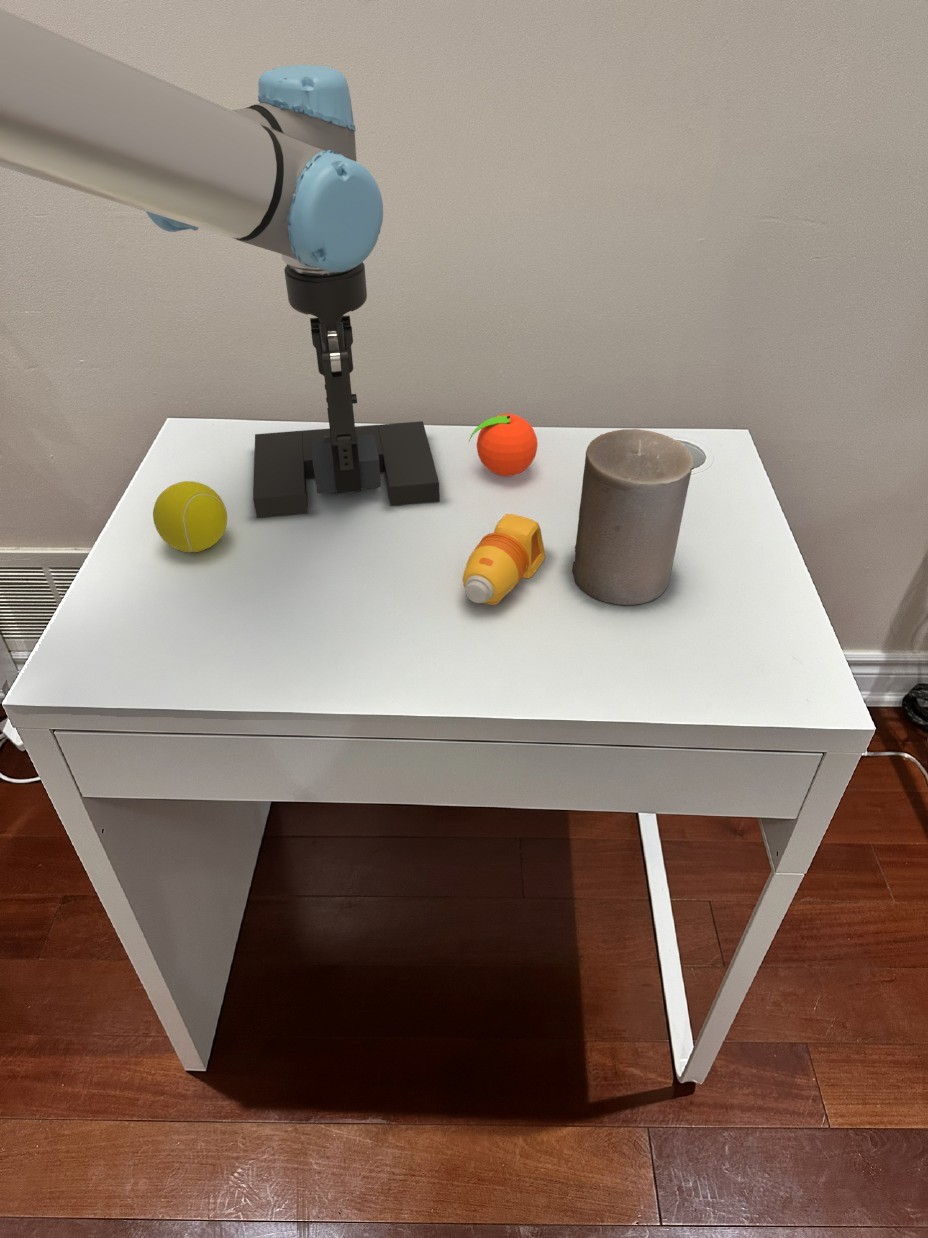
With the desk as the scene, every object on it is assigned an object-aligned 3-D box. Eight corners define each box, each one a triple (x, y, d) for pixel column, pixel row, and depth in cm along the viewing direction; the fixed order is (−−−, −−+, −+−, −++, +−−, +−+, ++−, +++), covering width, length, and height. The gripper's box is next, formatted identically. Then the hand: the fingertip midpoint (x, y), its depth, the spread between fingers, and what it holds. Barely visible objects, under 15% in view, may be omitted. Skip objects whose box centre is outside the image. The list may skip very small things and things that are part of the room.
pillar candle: (552, 568, 88) (563, 435, 78) (623, 535, 93) (642, 405, 83) (618, 620, 82) (640, 482, 72) (691, 582, 87) (721, 448, 77)
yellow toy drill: (501, 625, 82) (549, 554, 90) (502, 579, 78) (552, 510, 86) (449, 609, 84) (501, 541, 92) (448, 563, 80) (502, 496, 88)
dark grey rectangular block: (316, 493, 95) (312, 465, 93) (315, 466, 99) (311, 439, 97) (381, 487, 96) (379, 459, 94) (376, 461, 100) (374, 433, 98)
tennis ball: (245, 540, 92) (234, 483, 87) (193, 573, 87) (178, 515, 83) (201, 518, 95) (187, 461, 90) (148, 548, 91) (131, 491, 86)
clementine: (475, 492, 99) (476, 435, 94) (461, 461, 104) (461, 406, 99) (543, 483, 100) (547, 427, 96) (525, 453, 105) (528, 398, 101)
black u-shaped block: (256, 518, 95) (252, 498, 93) (258, 452, 105) (255, 433, 104) (439, 501, 97) (439, 482, 96) (423, 439, 108) (422, 420, 106)
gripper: (372, 295, 76) (389, 518, 91) (357, 227, 89) (373, 431, 105) (284, 301, 75) (316, 526, 90) (282, 231, 88) (310, 436, 104)
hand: (347, 474), depth 97 cm, fingers closed on dark grey rectangular block, 5 cm apart
